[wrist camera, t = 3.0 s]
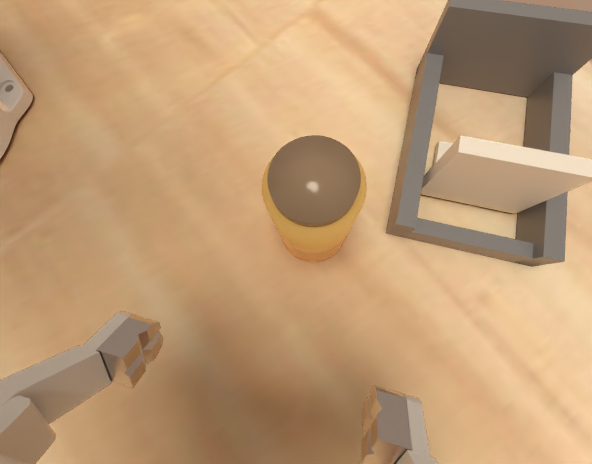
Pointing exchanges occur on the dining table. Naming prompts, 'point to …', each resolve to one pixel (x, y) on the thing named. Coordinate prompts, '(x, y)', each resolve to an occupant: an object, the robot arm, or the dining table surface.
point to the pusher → (501, 174)
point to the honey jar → (314, 195)
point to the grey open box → (502, 79)
